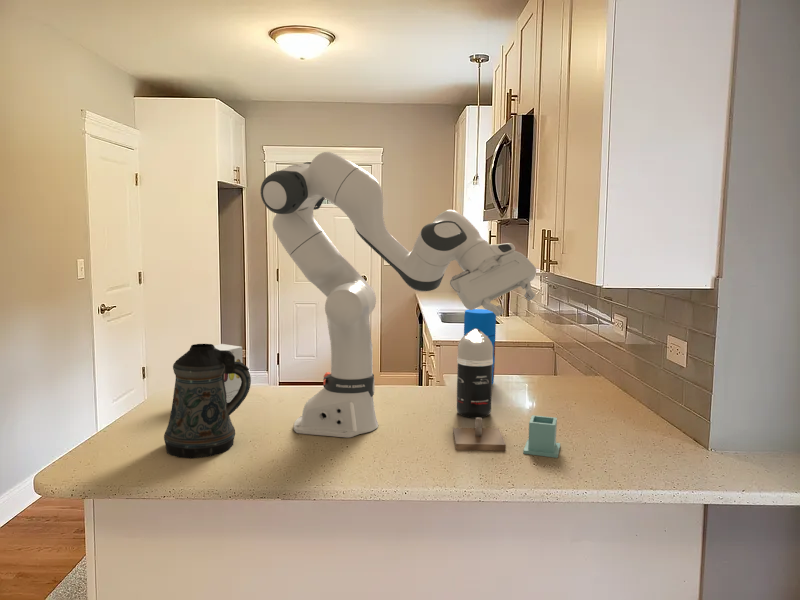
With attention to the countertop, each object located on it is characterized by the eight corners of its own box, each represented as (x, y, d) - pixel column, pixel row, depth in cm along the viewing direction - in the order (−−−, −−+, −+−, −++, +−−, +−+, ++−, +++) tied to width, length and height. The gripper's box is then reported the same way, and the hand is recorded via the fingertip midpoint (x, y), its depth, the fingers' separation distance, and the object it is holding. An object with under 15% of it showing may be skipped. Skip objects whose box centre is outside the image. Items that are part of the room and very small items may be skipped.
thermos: (477, 376, 220) (479, 308, 217) (500, 383, 212) (502, 311, 209) (456, 381, 213) (457, 310, 210) (479, 388, 205) (481, 314, 202)
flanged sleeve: (523, 453, 146) (524, 423, 145) (527, 442, 153) (528, 413, 153) (557, 457, 143) (559, 427, 143) (560, 446, 151) (561, 417, 150)
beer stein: (154, 444, 150) (150, 344, 147) (229, 428, 162) (227, 335, 159) (179, 464, 137) (175, 355, 134) (258, 445, 149) (256, 345, 146)
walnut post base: (455, 449, 148) (456, 425, 147) (452, 433, 160) (453, 410, 159) (505, 450, 148) (506, 426, 147) (498, 433, 160) (499, 411, 159)
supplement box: (220, 407, 180) (219, 351, 178) (199, 402, 185) (197, 348, 183) (244, 399, 188) (243, 346, 186) (222, 395, 193) (221, 343, 191)
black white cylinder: (498, 417, 174) (500, 330, 171) (466, 420, 170) (468, 332, 167) (480, 407, 183) (482, 324, 180) (449, 410, 179) (451, 326, 176)
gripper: (448, 271, 140) (484, 316, 134) (517, 240, 148) (553, 281, 142) (444, 287, 145) (477, 331, 139) (510, 256, 153) (545, 297, 147)
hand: (516, 306), depth 141 cm, fingers open, 8 cm apart
